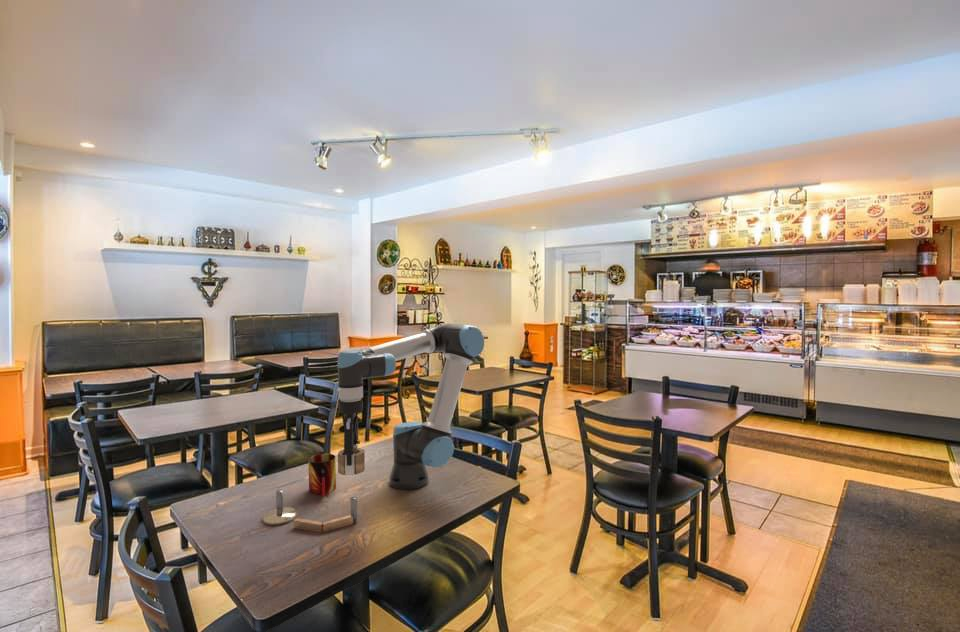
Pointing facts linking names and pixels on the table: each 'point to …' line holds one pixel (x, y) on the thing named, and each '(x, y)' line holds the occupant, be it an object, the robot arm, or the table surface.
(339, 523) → the bent hammer
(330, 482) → the mug
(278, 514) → the peg stand
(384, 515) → the table surface
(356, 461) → the oak ring
